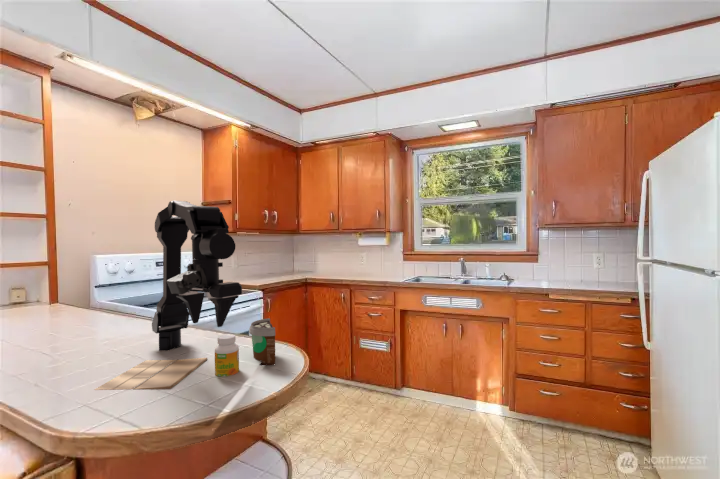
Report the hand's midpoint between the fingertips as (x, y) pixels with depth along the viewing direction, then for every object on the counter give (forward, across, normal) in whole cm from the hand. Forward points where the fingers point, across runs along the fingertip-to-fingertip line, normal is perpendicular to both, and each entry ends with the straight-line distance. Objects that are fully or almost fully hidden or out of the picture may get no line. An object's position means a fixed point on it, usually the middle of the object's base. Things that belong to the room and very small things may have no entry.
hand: (207, 324), depth 84 cm
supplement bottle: (+13, +3, +3) cm, 14 cm away
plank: (+12, -8, -4) cm, 15 cm away
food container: (+13, +2, +15) cm, 20 cm away
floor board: (+12, -15, -8) cm, 21 cm away
